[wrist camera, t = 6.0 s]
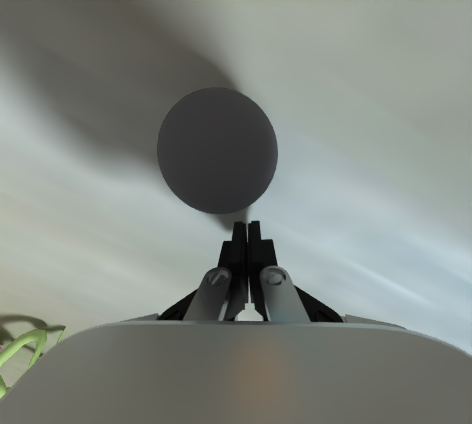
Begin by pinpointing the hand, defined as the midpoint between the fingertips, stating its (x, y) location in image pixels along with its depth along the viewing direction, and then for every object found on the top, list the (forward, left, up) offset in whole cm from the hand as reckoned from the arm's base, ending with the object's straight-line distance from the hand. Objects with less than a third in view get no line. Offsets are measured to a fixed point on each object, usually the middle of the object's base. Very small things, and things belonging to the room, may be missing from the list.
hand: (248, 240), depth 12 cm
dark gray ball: (-2, -5, +1) cm, 6 cm away
